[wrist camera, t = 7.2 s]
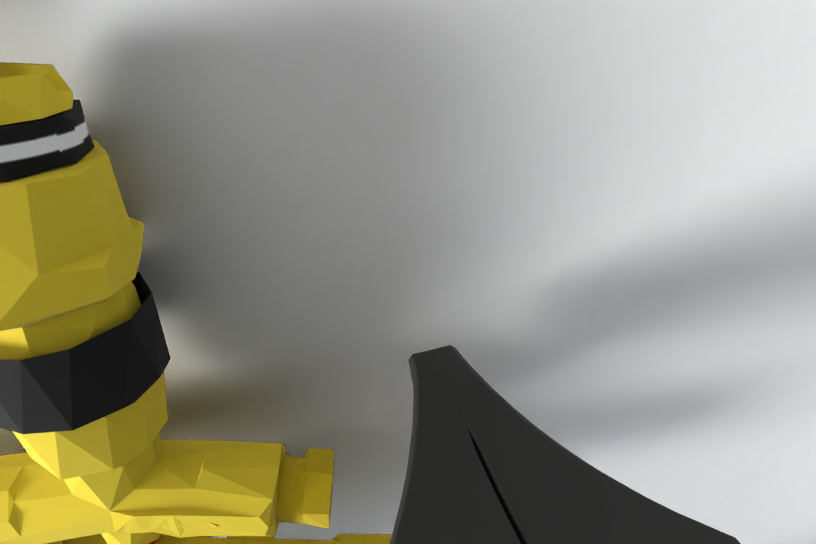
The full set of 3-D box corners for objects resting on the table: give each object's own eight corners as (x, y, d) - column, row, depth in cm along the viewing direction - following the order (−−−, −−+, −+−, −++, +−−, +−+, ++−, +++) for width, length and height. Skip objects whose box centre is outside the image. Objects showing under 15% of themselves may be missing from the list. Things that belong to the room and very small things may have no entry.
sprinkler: (603, 81, 6) (507, 724, 13) (517, 43, 10) (478, 568, 17) (-1370, 131, 5) (-338, 795, 12) (-671, 70, 9) (-181, 614, 16)
